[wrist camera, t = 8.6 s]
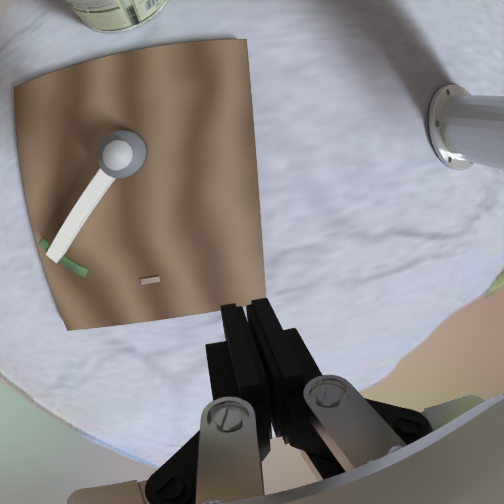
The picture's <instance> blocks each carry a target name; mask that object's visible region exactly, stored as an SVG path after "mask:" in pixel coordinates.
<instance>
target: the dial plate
mask: <svg viewBox="0 0 504 504" xmlns="http://www.w3.org/2000/svg"><path fill="white" fill-rule="evenodd" d="M14 101H15V122H16V135H17V145H18V154H19V162H20V169H21V175H22V181H23V187H24V192H25V198H26V203H27V207H28V212H29V216H30V221H31V225H32V229H33V233H34V236H35V240H36V244H37V247H38V251H39V254H40V258H41V261H42V264H43V267H44V270H45V273H46V277H47V279H48V282H49V285H50V288H51V291H52V294H53V296H54V299H55V302H56V304H57V307H58V309H59V312H60V314H61V317H62V319H63V322H64V324H65V326H66V329H67V331H70V330H80V329H90V328H99V327H108V326H116V325H125V324H133V323H140V322H148V321H155V320H162V319H169V318H176V317H183V316H189V315H196V314H202V313H208V312H214V311H220V310H221V308H220V305H226V304H232V303H235V304H236V307H238V306H242V307H244V306H246V305H250V304H251V300H255V299H261V298H266V289H265V274H264V258H263V244H262V229H261V215H260V201H259V187H258V173H257V160H256V147H255V134H254V121H253V108H252V96H251V84H250V72H249V60H248V49H247V39H227V40H209V41H197V42H186V43H178V44H170V45H163V46H156V47H150V48H144V49H138V50H133V51H128V52H123V53H119V54H114V55H110V56H106V57H102V58H98V59H94V60H91V61H87V62H83V63H80V64H77V65H73V66H70V67H67V68H64V69H61V70H58V71H55V72H52V73H49V74H47V75H44V76H41V77H38V78H36V79H33V80H31V81H28V82H26V83H23V84H21V85H19V86H16V87H14ZM121 130H123V131H131V132H135V133H137V134H139V135H140V136H142V137H143V139H144V140H145V142H146V144H147V147H148V156H147V159H146V162H145V163H144V165H143V166H142V167H141V168H140V169H139V170H138V171H136V172H135V173H133V174H132V175H130V176H128V177H125V178H116V179H115V180H114V182H113V183H112V184H111V186H110V187H109V188H108V190H107V191H106V192H105V194H104V195H103V197H102V198H101V199H100V201H99V202H98V204H97V205H96V207H95V208H94V210H93V211H92V212H91V214H90V215H89V217H88V218H87V220H86V221H85V223H84V224H83V226H82V227H81V229H80V231H79V232H78V234H77V235H76V237H75V238H74V240H73V242H72V243H71V245H70V247H69V248H68V250H67V252H66V253H65V254H64V255H63V256H62V258H61V259H60V260H59V261H58V262H57V263H55V262H54V261H53V260H52V259H50V258H49V257H48V256H47V255H46V253H47V251H48V250H49V248H50V246H51V244H52V242H53V241H54V239H55V237H56V235H57V234H58V232H59V230H60V229H61V227H62V225H63V224H64V222H65V220H66V219H67V217H68V215H69V214H70V212H71V211H72V209H73V208H74V206H75V204H76V203H77V201H78V200H79V198H80V197H81V195H82V194H83V192H84V191H85V189H86V188H87V186H88V185H89V184H90V182H91V181H92V179H93V178H94V177H95V175H96V174H97V172H98V171H99V170H100V166H99V163H98V158H97V154H98V149H99V146H100V144H101V142H102V141H103V139H104V138H105V137H106V136H107V135H109V134H110V133H112V132H115V131H121Z"/></svg>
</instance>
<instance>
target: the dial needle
mask: <svg viewBox="0 0 504 504" xmlns="http://www.w3.org/2000/svg"><path fill="white" fill-rule="evenodd" d="M147 156H148V147H147V144H146V142H145V140H144V139H143V137H142V136H140V135H139V134H137V133H135V132H131V131H123V130H121V131H115V132H112V133H110V134H109V135H107V136H106V137H105V138H104V139H103V141H102V142H101V144H100V146H99V149H98V154H97V158H98V163H99V166H100V170H99V171H98V172H97V174H96V175H95V177H94V178H93V179H92V181H91V182H90V184H89V185H88V186H87V188H86V189H85V191H84V192H83V194H82V195H81V197H80V198H79V200H78V201H77V203H76V204H75V206H74V208H73V209H72V211H71V212H70V214H69V215H68V217H67V219H66V220H65V222H64V224H63V225H62V227H61V229H60V230H59V232H58V234H57V235H56V237H55V239H54V241H53V242H52V244H51V246H50V248H49V250H48V251H47V253H46V255H47V256H48V257H49V258H50V259H52V260H53V261H54V262H55V263H57V262H58V261H59V260H60V259H61V258H62V256H63V255H64V254H65V253H66V252H67V250H68V248H69V247H70V245H71V243H72V242H73V240H74V238H75V237H76V235H77V234H78V232H79V231H80V229H81V227H82V226H83V224H84V223H85V221H86V220H87V218H88V217H89V215H90V214H91V212H92V211H93V210H94V208H95V207H96V205H97V204H98V202H99V201H100V199H101V198H102V197H103V195H104V194H105V192H106V191H107V190H108V188H109V187H110V186H111V184H112V183H113V182H114V180H115V179H116V178H125V177H128V176H130V175H132V174H133V173H135V172H136V171H138V170H139V169H140V168H141V167H142V166H143V165H144V163H145V162H146V159H147Z"/></svg>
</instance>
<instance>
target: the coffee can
mask: <svg viewBox="0 0 504 504" xmlns="http://www.w3.org/2000/svg"><path fill="white" fill-rule="evenodd" d="M64 1H65V2H66V3H67V4H68V5H69V7H70V8H71V9H72V10H73V11H74V12H75V13H76V14H77V15H78V16H79V17H80V19H81V20H82V22H83V23H84V24H85V25H86V26H87V27H89V28H90V29H92V30H94V31H97V32H102V33H118V32H124V31H128V30H131V29H134V28H136V27H139V26H141V25H143V24H145V23H146V22H148V21H150V20H151V19H152V18H153V17H155V16H156V15H157V14H158V13H159V12H160V11H161V10H162V9H163V7H164V6H165V5H166V3H167V2H168V0H64Z"/></svg>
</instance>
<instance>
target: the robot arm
mask: <svg viewBox="0 0 504 504" xmlns="http://www.w3.org/2000/svg"><path fill="white" fill-rule="evenodd" d="M429 131H430V136H431V141H432V144H433V147H434V149H435V151H436V153H437V155H438V157H439V158H440V160H441V161H442V162H443V163H444V164H445V165H446V166H447V167H449V168H451V169H455V170H465V169H468V168H469V167H471V166H472V165H473V163H476V164H481V165H485V166H489V167H493V168H497V169H501V170H504V96H483V95H470V94H469V93H468V91H466V90H465V89H464V88H462V87H460V86H458V85H445V86H442V87H441V88H440V89H438V91H437V92H436V93H435V94H434V97H433V99H432V101H431V105H430V110H429ZM220 308H221V314H222V321H223V327H224V333H225V339H226V341H224V342H218V343H212V344H206V345H205V346H206V354H207V361H208V369H209V376H210V382H211V389H212V396H213V401H212V402H211V403H209V404H208V405H207V406H206V407H205V409H204V410H203V412H202V415H201V424H200V430H199V431H198V432H197V433H196V434H195V435H194V436H193V437H192V438H191V439H190V440H189V441H188V442H187V443H186V444H185V445H184V446H183V447H182V448H181V449H180V450H178V451H177V452H176V453H175V454H174V455H173V456H172V457H171V458H170V459H169V460H168V461H167V462H166V463H165V464H163V465H162V466H161V467H160V468H159V469H158V470H157V471H156V472H155V473H154V474H152V475H151V477H150V478H149V479H148V480H146V481H141V482H138V481H137V480H134V481H129V482H123V483H118V484H112V485H106V486H99V487H92V488H84V489H80V490H76V491H74V492H73V493H72V494H71V495H70V496H69V498H68V500H67V504H504V393H503V394H501V395H497V396H495V397H492V398H490V399H488V400H486V401H484V400H483V399H482V398H480V397H478V396H475V395H469V396H465V397H462V398H459V399H455V400H452V401H449V402H446V403H442V404H439V405H436V406H432V407H429V408H425V409H424V410H423V412H420V413H419V412H417V411H414V410H411V409H406V408H402V407H397V406H393V405H389V404H385V403H381V402H377V401H373V400H369V399H366V398H363V397H362V396H361V394H360V393H359V392H358V391H357V390H356V389H355V388H354V387H353V386H352V385H351V383H350V382H348V381H347V380H346V379H344V378H342V377H340V376H335V375H322V374H321V372H320V370H319V368H318V366H317V365H316V363H315V361H314V359H313V358H312V356H311V354H310V352H309V350H308V349H307V347H306V345H305V343H304V342H303V340H302V338H301V336H300V335H299V333H298V331H297V330H296V329H295V328H291V329H287V330H283V329H282V327H281V325H280V323H279V321H278V319H277V317H276V315H275V313H274V311H273V309H272V307H271V305H270V303H269V301H268V299H267V298H261V299H255V300H251V304H250V305H246V310H247V319H248V322H247V319H246V316H245V313H244V310H243V307H242V306H238V307H236V304H235V303H232V304H226V305H220ZM271 423H272V426H273V429H274V432H275V435H276V437H281V436H282V437H283V440H284V443H285V444H288V443H290V446H292V447H295V448H297V449H300V452H301V455H302V456H303V458H304V460H305V461H306V463H307V464H308V466H309V468H310V469H311V471H312V472H313V474H314V475H315V477H316V478H317V480H318V482H315V483H312V484H308V485H305V486H302V487H298V488H294V489H290V490H287V491H282V492H278V493H274V494H269V495H265V493H264V483H263V472H262V461H263V460H264V458H265V457H266V456H267V455H268V453H269V452H270V439H272V428H271Z"/></svg>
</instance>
